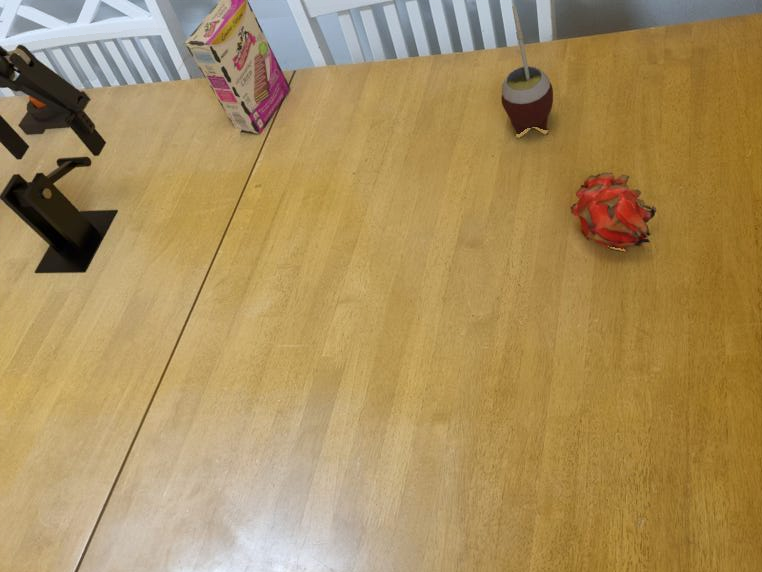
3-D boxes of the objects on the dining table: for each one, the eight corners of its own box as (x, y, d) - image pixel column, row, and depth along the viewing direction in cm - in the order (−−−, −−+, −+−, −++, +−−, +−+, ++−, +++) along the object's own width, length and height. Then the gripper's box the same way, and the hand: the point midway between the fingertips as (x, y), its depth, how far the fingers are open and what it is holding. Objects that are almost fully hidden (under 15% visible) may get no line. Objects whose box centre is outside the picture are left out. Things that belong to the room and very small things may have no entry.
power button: (32, 109, 128) (25, 101, 126) (41, 95, 130) (34, 87, 128) (49, 108, 127) (42, 99, 126) (58, 94, 129) (51, 85, 127)
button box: (26, 135, 131) (10, 117, 127) (46, 104, 135) (31, 86, 131) (73, 131, 128) (57, 113, 125) (92, 101, 132) (77, 82, 129)
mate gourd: (532, 149, 102) (514, 56, 90) (494, 127, 106) (472, 35, 94) (569, 119, 104) (557, 23, 91) (531, 98, 108) (514, 4, 95)
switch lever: (67, 168, 111) (59, 153, 110) (94, 166, 110) (86, 151, 109) (13, 207, 103) (3, 191, 101) (42, 206, 101) (33, 190, 100)
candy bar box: (261, 135, 116) (209, 45, 103) (236, 132, 118) (181, 43, 105) (293, 88, 121) (247, -4, 108) (268, 86, 123) (220, -5, 109)
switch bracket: (73, 216, 115) (14, 155, 105) (122, 214, 113) (66, 152, 103) (39, 277, 109) (-27, 218, 99) (89, 276, 107) (27, 217, 97)
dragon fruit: (587, 209, 96) (646, 270, 91) (542, 214, 91) (603, 279, 86) (619, 154, 91) (685, 216, 86) (575, 156, 85) (641, 222, 80)
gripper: (-150, 47, 91) (-20, 172, 109) (14, 31, 85) (123, 166, 103) (-116, 10, 95) (4, 137, 112) (43, -8, 89) (143, 129, 106)
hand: (61, 151), depth 108 cm, fingers open, 13 cm apart
